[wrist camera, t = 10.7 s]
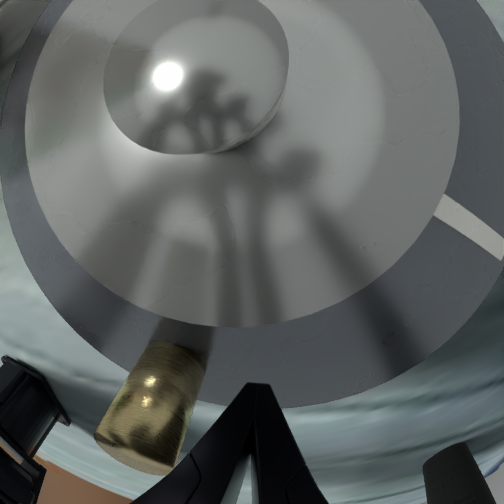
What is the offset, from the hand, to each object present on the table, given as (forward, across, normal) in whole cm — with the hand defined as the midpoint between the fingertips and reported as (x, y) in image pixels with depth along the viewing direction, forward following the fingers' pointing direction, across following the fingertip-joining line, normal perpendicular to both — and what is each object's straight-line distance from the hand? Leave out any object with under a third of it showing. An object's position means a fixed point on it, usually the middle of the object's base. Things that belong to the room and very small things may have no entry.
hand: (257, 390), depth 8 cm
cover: (+1, +1, -8) cm, 8 cm away
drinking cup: (+4, -18, +16) cm, 25 cm away
